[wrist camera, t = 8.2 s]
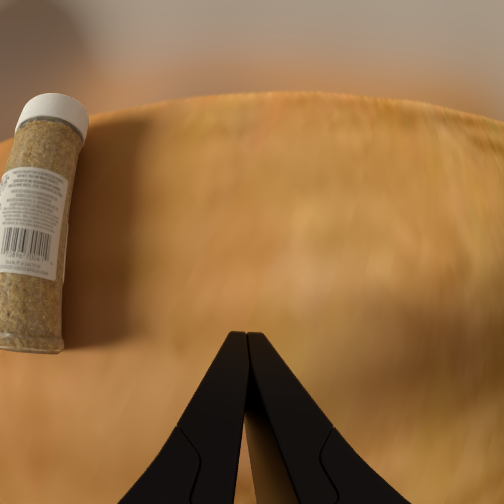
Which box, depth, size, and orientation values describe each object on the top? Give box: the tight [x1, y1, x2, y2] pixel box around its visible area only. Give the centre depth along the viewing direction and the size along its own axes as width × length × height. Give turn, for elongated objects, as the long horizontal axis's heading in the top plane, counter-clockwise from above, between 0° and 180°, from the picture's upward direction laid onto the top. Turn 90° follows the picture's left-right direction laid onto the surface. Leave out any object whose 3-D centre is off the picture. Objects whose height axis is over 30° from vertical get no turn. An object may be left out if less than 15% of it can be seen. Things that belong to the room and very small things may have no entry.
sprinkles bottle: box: [0, 93, 89, 354], centre depth 14 cm, size 5×5×13 cm
